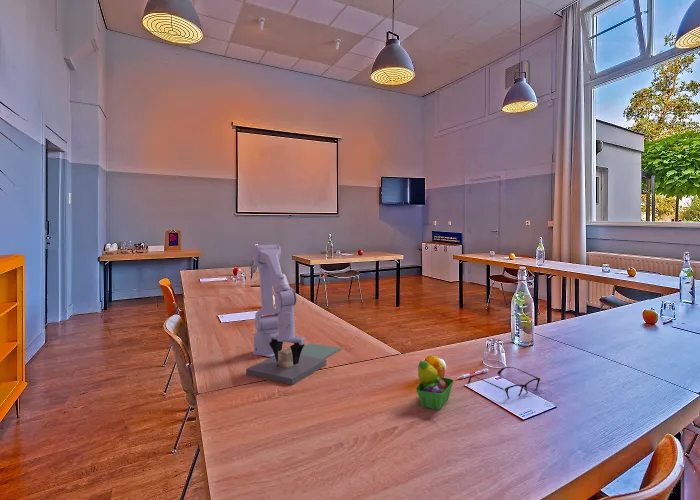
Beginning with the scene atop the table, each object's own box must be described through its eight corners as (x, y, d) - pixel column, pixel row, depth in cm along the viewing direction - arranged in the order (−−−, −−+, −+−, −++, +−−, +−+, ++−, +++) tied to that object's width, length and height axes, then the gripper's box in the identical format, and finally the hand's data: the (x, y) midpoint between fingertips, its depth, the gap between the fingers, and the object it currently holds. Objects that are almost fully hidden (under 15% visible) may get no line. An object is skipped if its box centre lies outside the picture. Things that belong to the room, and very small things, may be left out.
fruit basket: (442, 413, 98) (441, 371, 97) (410, 405, 103) (410, 365, 102) (454, 396, 108) (454, 358, 107) (425, 390, 112) (425, 353, 112)
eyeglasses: (505, 402, 104) (505, 388, 104) (464, 383, 118) (464, 370, 118) (543, 390, 112) (543, 377, 111) (500, 373, 126) (500, 361, 125)
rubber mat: (286, 355, 147) (286, 353, 147) (310, 344, 161) (310, 342, 161) (320, 361, 139) (320, 359, 139) (341, 349, 153) (341, 347, 153)
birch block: (278, 371, 131) (277, 351, 130) (287, 366, 135) (286, 347, 135) (287, 373, 129) (286, 353, 128) (296, 368, 133) (295, 349, 133)
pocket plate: (246, 374, 128) (246, 368, 128) (283, 356, 145) (283, 351, 145) (292, 385, 118) (292, 378, 118) (326, 364, 136) (326, 359, 136)
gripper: (262, 324, 131) (264, 362, 132) (295, 329, 124) (296, 369, 125) (275, 320, 137) (277, 356, 138) (308, 324, 130) (309, 362, 131)
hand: (287, 362), depth 132 cm, fingers open, 7 cm apart
